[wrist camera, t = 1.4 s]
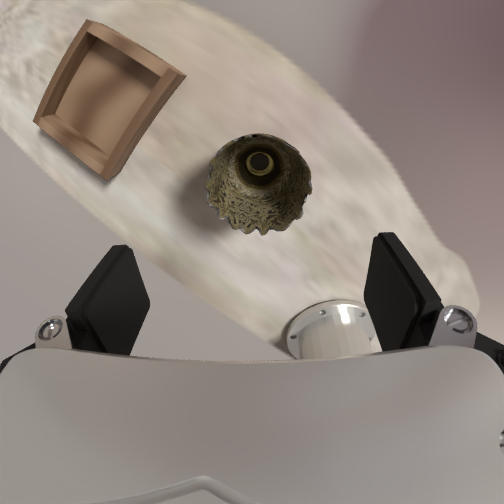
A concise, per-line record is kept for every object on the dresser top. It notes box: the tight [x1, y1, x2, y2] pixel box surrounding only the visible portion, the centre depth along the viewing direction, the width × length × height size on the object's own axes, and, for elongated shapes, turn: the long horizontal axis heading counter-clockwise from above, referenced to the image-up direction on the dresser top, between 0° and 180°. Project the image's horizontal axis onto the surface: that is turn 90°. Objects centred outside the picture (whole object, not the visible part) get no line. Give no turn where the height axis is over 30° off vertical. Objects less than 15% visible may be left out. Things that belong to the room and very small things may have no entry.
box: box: [33, 20, 186, 181], centre depth 21 cm, size 12×12×3 cm
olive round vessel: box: [205, 134, 312, 236], centre depth 23 cm, size 8×7×8 cm
